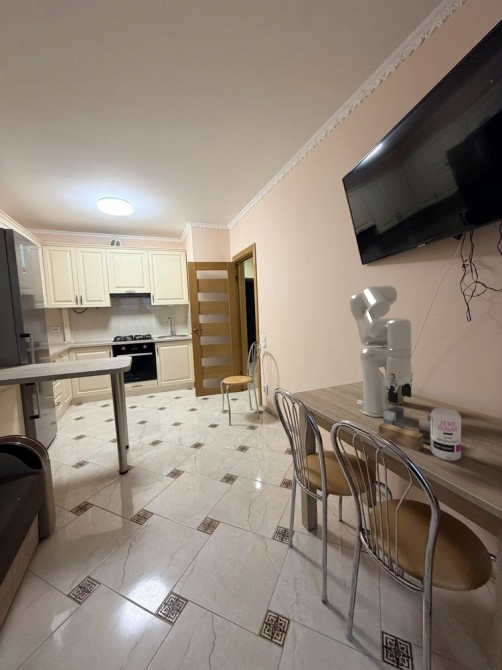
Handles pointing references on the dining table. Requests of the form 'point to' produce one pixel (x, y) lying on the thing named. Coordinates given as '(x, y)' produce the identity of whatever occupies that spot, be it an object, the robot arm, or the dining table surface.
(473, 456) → the dining table surface
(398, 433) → the brown wooden block
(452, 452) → the supplement can
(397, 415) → the bracket stand
